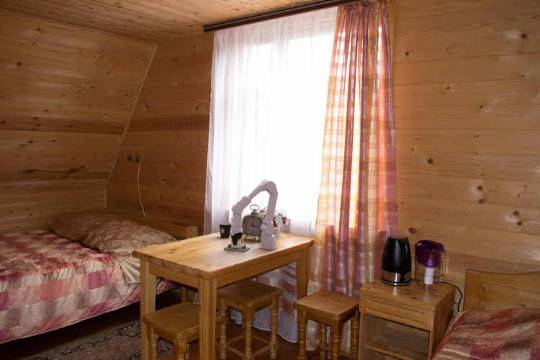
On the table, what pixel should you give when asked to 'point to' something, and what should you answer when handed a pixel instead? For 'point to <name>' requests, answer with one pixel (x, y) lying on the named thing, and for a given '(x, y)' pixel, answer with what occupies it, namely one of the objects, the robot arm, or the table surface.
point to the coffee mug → (225, 229)
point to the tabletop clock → (252, 224)
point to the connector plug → (237, 244)
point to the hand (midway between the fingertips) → (236, 244)
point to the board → (240, 249)
